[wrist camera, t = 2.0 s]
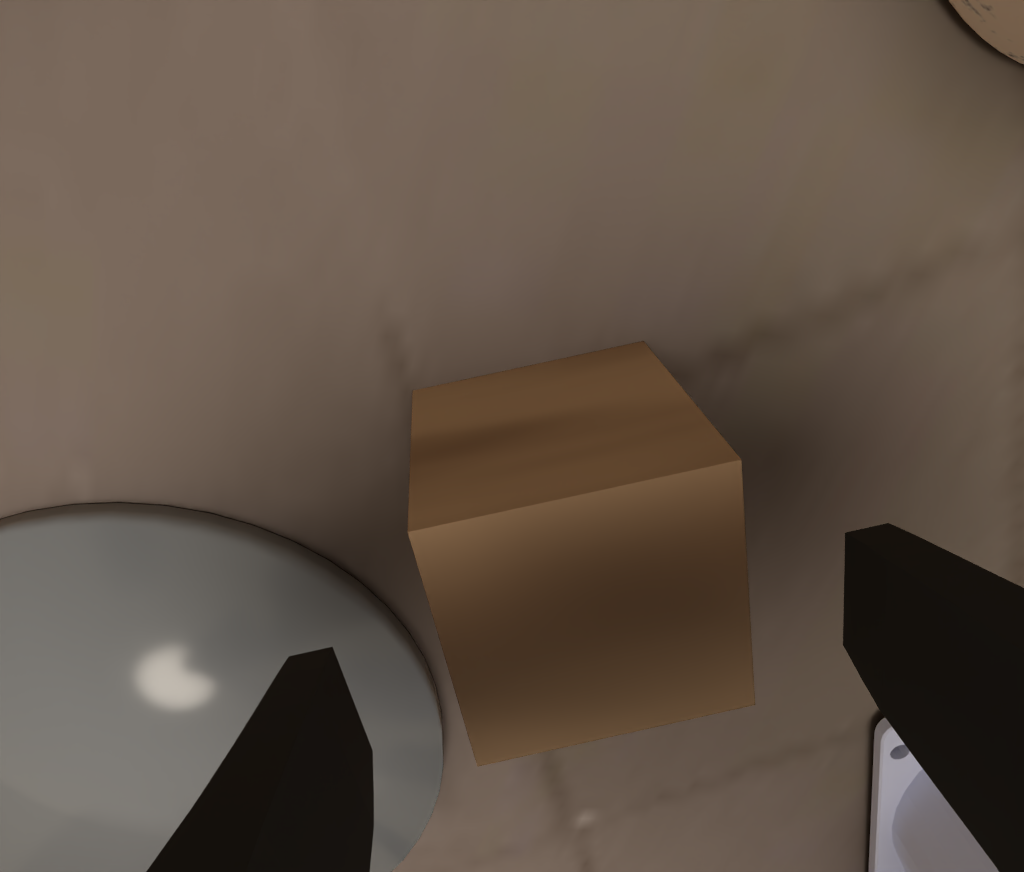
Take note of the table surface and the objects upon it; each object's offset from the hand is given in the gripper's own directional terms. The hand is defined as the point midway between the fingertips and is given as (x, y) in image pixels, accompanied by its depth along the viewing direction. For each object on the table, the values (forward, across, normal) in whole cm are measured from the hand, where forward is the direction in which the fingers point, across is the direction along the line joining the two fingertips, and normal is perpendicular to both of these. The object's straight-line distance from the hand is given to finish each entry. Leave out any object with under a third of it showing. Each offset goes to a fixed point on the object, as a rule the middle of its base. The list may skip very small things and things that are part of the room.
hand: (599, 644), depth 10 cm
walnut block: (+5, 0, 0) cm, 5 cm away
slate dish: (+5, +10, +5) cm, 12 cm away
